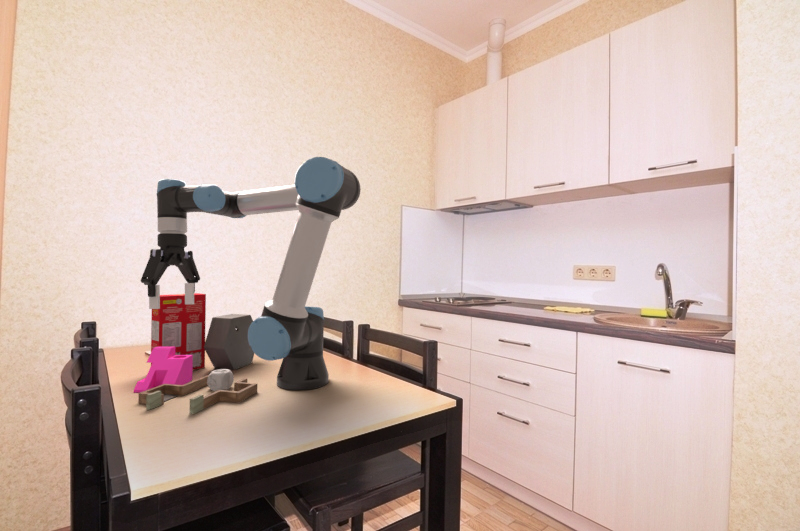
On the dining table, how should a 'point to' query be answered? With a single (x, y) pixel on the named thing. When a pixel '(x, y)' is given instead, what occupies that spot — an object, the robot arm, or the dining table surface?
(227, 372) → the die
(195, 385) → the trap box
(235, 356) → the planter
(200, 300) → the food packaging
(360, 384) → the dining table surface
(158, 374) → the bracket
